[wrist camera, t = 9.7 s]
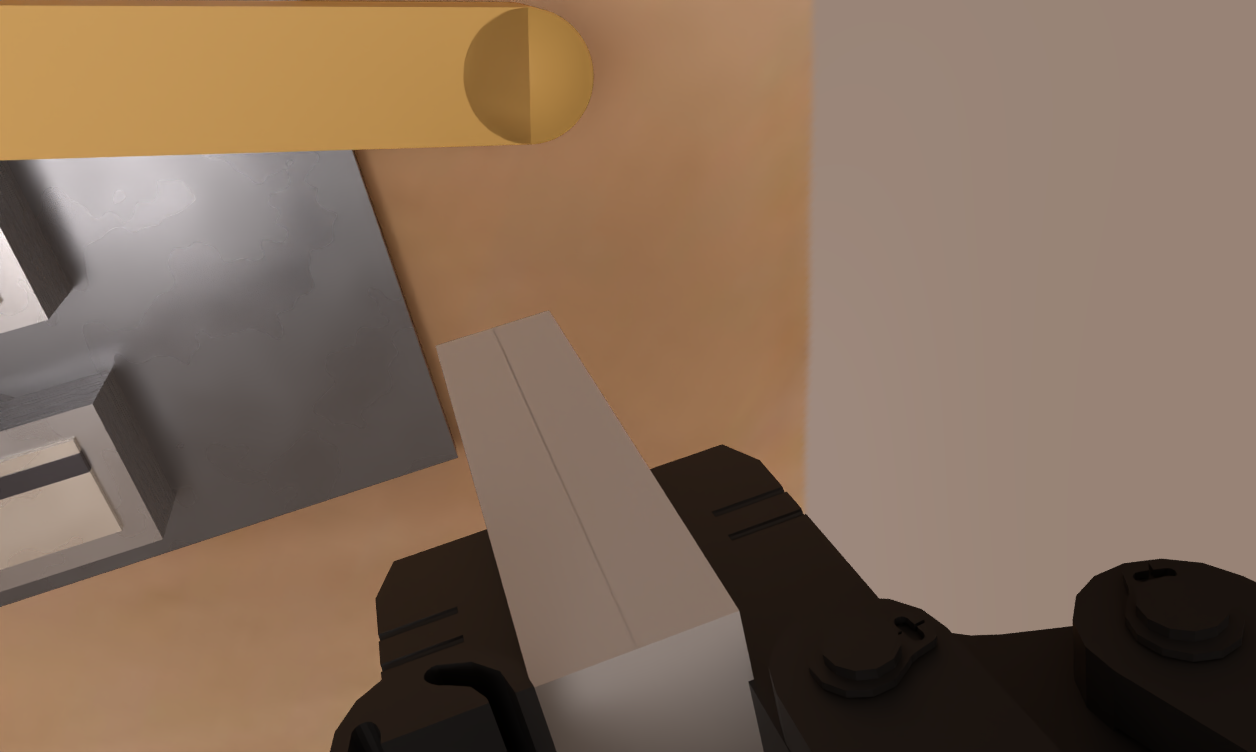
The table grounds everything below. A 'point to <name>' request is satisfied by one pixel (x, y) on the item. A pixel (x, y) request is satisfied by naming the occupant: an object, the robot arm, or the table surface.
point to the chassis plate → (194, 354)
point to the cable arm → (282, 76)
